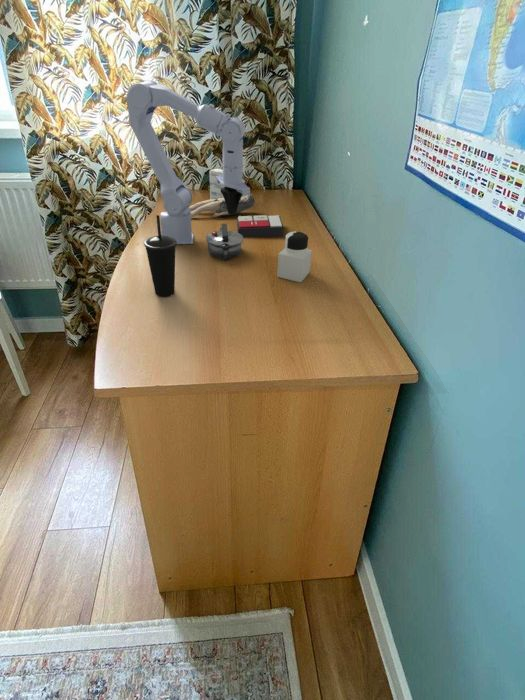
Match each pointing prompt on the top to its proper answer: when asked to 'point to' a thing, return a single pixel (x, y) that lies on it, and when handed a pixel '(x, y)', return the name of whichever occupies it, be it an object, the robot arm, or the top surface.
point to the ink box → (215, 184)
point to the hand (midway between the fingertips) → (232, 213)
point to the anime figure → (221, 206)
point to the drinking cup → (162, 262)
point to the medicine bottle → (295, 257)
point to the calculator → (260, 226)
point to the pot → (224, 251)
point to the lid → (224, 238)
